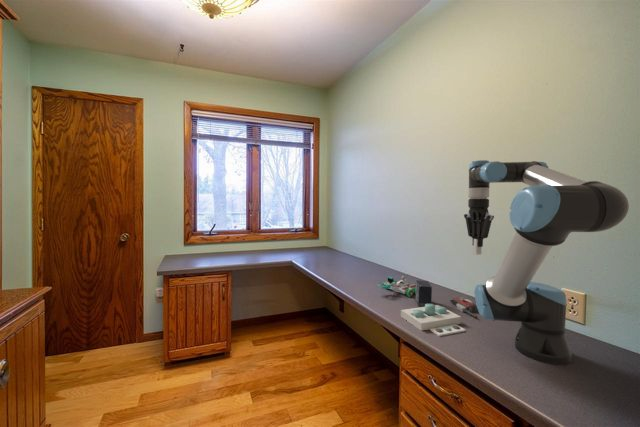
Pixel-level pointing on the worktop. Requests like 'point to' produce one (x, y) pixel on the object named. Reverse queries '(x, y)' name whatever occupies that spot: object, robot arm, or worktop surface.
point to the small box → (423, 293)
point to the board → (430, 319)
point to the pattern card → (447, 330)
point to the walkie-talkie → (465, 305)
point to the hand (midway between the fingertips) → (477, 254)
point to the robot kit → (399, 286)
